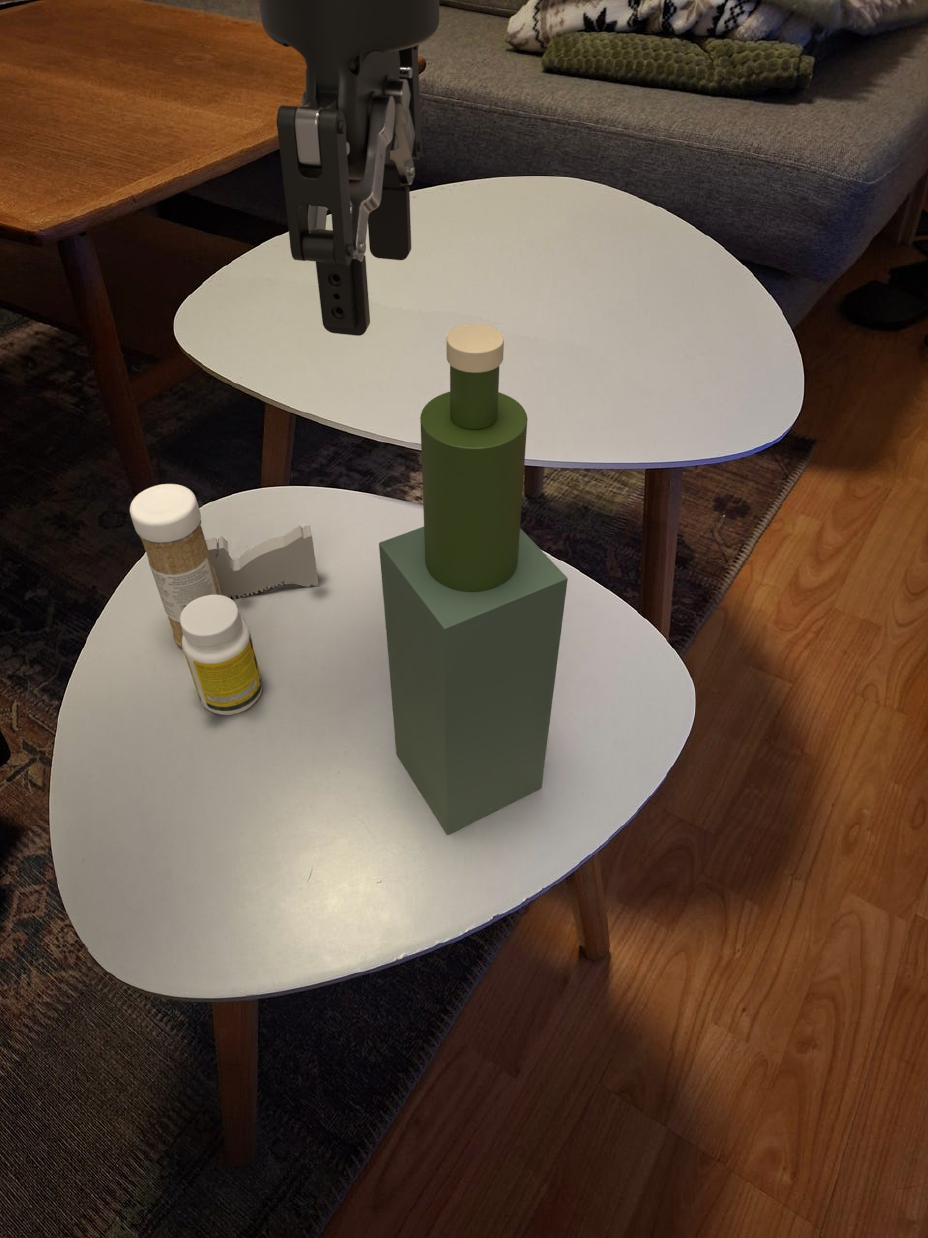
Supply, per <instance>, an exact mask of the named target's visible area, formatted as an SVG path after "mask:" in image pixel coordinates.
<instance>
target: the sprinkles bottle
mask: <svg viewBox="0 0 928 1238" xmlns="http://www.w3.org/2000/svg"><path fill="white" fill-rule="evenodd" d="M129 514H130V518H131V521H132V525H133V527H134V530H135V532H136V533H137V535H138V536H139V538H140V540H141V543H142V545H143V546H144V551H145V552H146V557H147V560H148V565H149V569H150V571H151V573H152V576H153V579H154V582H155V585H156V588H157V591H158V594H159V598H160V601H161V603H162V606H163V608H164V611H165V614H166V615H167V618H168V621H169V625H170V626H171V629H172V638H173V640H174V642H175V643H176V644H177V645H178V646H179V647H180V648H182V649H183V647H182V637H183V631H182V627H181V624H180V615H181V613H182V611H183V609H184V608H185V607H186V606H187V605H188V604H189V603H190V602H192V601H193V600H195V599H197V598H199V597H203V596H207V595H221V591H220V587H219V584H218V580H217V577H216V573H215V569H214V567H213V565H212V562H211V558H210V554H209V551H208V548H207V544H206V540H207V539H206V537H205V535H204V531H203V527H202V513H201V510H200V507H199V502H198V501H197V497H196V495H195V494H194V492H193V491H192V490H191V489H190V488H188V487H186V486H184V485H182V484H181V485H180V484H176V483H164V484H163V483H162V484H158V485H157V484H156V485H153V486H151V487H148V488H145V489H144V490H143V491H140V492H139V493H138V494H137V495H136V496H134V498H133V500H132V501H131V503H130V505H129ZM205 539H206V540H205Z"/></svg>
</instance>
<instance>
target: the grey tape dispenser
mask: <svg viewBox="0 0 928 1238" xmlns="http://www.w3.org/2000/svg"><path fill="white" fill-rule="evenodd" d="M313 539H314V538H313V534H312V528H311V525H310V524H309V525H305V526H301V525H298V526H297V527H295V528H293V529H292V530H290V531H288V532H287V533H285V534H283V535H281V536H277V537H274V538H271V539H268V540H266V541H263V542H261V543H258V544H257V545H254V546H253V547H251V548H250V549H248V550H247V551H245V552H244V553H243V554H242V555H240V556H239V557H238V558H235V559H233V558H232V557H231V555H230V554H229V544H228V540H226V538H225V537H223V536H219V537H218V538H217V537H210V538H207V539H206V538H205V540H206V544H207V548H208V551H209V554H210V558H211V562H212V565H213V567H214V569H215V573H216V577H217V580H218V584H219V587H220V591H221V595H222V596H226V597H228V598H230V599H231V597H232V598H233V599H241V598H242V597H244V598H246V597H249V596H250V595H251V596H254V594H259V591H260V592H261V593H263V592H265V591H266V592H267V591H268V590H269V589H271V588H272V589H274V588H276V587H279V586H284V585H292V584H294V585H298V586H303V587H306V588H309V587H310V586H314V587H318V586H320V584H319V577H318V576H319V575H318V569H317V562H316V555H315V554H316V553H315V547H314V540H313ZM231 600H232V599H231Z"/></svg>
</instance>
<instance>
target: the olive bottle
mask: <svg viewBox="0 0 928 1238" xmlns="http://www.w3.org/2000/svg"><path fill="white" fill-rule="evenodd" d="M504 337H505V336H504V335H503V333H502V331H500V330H498V329H497V328H495V327H493V326H490V325H486V324H480V323H473V324H472V323H471V324H464V325H459V326H457V327H455V328H452V329H451V330H450V331H449V332H448V333H447V335H446V345H445V346H446V361H447V363H448V365H449V391H447V392H443V393H441V394H439V395H437V396H435V397H433V398H431V400H430V401H428V402H427V403H426V404H425V406H424V407H423V409H422V410H421V412H420V417H419V419H420V421H419V422H420V449H421V450H420V451H421V476H422V477H421V478H422V506H423V507H422V508H423V527H424V541H425V564H426V567H427V570H428V571H429V573H430V574H431V576H432V577H433V578H434V579H435V580H436V581H438V582H439V583H441V584H442V585H444V586H446V587H449V588H452V589H455V590H459V591H466V592H478V591H485V590H489V589H492V588H495V587H497V586H500V585H501V584H503V583H505V582H506V581H507V580H508V579H509V578H510V577H511V576H512V575H513V574H514V572H515V570H516V568H517V564H518V551H519V537H520V528H521V519H522V508H523V507H522V505H523V493H524V492H523V491H524V490H523V489H524V479H525V478H524V477H525V476H524V475H525V462H526V461H525V460H526V448H527V446H526V445H527V434H528V433H527V432H528V415H527V411H526V410H525V408H524V406H522V404H521V403H520V402H518V400H516V399H515V398H513V397H512V396H509V395H507V394H505V393H502V392H499V390H500V389H499V387H500V366H501V365H502V363H503V361H504V347H505V338H504Z"/></svg>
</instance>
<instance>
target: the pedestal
mask: <svg viewBox="0 0 928 1238" xmlns="http://www.w3.org/2000/svg"><path fill="white" fill-rule="evenodd" d="M378 549H379V550H378V551H379V563H380V573H381V575H380V576H381V587H382V597H383V599H382V600H383V609H384V621H385V634H386V647H387V657H388V659H387V660H388V670H389V681H390V692H391V693H390V695H391V707H392V717H393V718H392V719H393V729H394V741H395V743H394V744H395V751H396V752H395V753H396V756H397V758H398V759H399V761H400V763H401V764H402V766H403V767H404V769H405V770H406V772H407V774H408V775H409V777H410V778H411V780H412V782H413V784H414V785H415V786H416V788H417V790H418V792H419V793H420V794H421V796H422V798H423V800H425V802H426V804H427V805H428V807H429V810H431V812H432V814H433V815H434V817H435V818H436V819H437V821H438V823H439V825H440V826H441V828H442V829H443V831H444V832H445V834H446V835H447V836H449V835H450V834H452V833H455V832H456V831H459V830H461V829H462V828H464V827H467V826H468V825H470V824H472V823H474V822H476V821H478V820H480V819H482V818H484V817H486V816H488V815H491V814H492V813H494V812H497V811H498V810H500V809H502V808H504V807H506V806H508V805H510V804H512V803H514V802H516V801H518V800H520V799H522V798H524V797H527V796H528V795H530V794H532V793H534V792H536V791H538V790H540V789H542V786H543V781H544V780H543V779H544V772H545V763H546V756H547V747H548V739H549V731H550V724H551V716H552V715H551V714H552V706H553V699H554V690H555V684H556V675H557V668H558V659H559V651H560V643H561V638H562V637H561V636H562V629H563V628H562V627H563V619H564V612H565V604H566V597H567V588H568V582H569V581H568V579H569V578H568V577H567V576H566V575H565V573H564V572H563V571H561V569H560V568H559V567H558V566H557V565H556V564H555V563H554V562H553V561H552V560H551V559H550V557H549V556H547V554H546V553H545V552H544V551H543V550H542V549H541V548H540V547H539V546H538V545H537V544H536V543H535V542H534V541H533V540H532V539H531V538H530V536H529V535H527V533H526V532H525V531H524V530H523V529H522V528H521V527H520V537H519V551H518V564H517V568H516V570H515V572H514V574H513V575H512V576H511V577H510V578H509V579H508V580H507V581H506V582H505V583H503V584H501V585H500V586H497V587H495V588H492V589H489V590H485V591H478V592H466V591H459V590H455V589H452V588H449V587H446V586H444V585H442V584H441V583H439V582H438V581H436V580H435V579H434V578H433V577H432V576H431V574H430V573H429V571H428V570H427V567H426V564H425V541H424V526H422V527H419V528H416V529H413V530H411V531H408V532H405V533H402V534H399V535H396V536H394V537H391V538H388V539H385V540H383V541H380V542H378Z"/></svg>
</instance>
